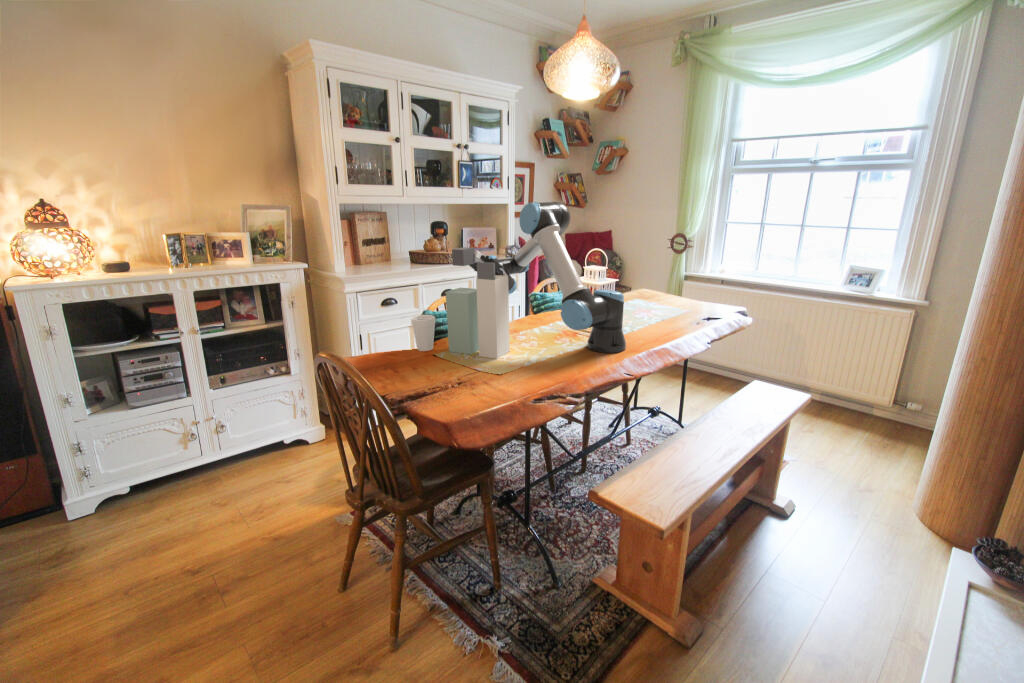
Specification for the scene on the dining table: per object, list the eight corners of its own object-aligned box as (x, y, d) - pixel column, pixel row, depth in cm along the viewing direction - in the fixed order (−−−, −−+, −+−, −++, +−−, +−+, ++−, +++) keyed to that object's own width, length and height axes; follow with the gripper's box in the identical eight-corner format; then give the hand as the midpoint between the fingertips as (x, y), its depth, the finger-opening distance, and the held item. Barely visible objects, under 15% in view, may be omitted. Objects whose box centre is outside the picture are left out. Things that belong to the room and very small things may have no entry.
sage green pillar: (483, 347, 192) (481, 289, 185) (470, 354, 183) (467, 294, 176) (462, 344, 196) (460, 287, 189) (449, 351, 188) (445, 292, 181)
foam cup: (412, 346, 195) (410, 315, 191) (434, 344, 198) (432, 314, 194) (414, 353, 186) (412, 321, 182) (438, 350, 189) (436, 319, 185)
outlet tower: (509, 351, 187) (507, 259, 176) (497, 359, 178) (494, 263, 168) (491, 348, 190) (489, 259, 180) (479, 356, 182) (475, 262, 171)
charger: (488, 260, 192) (487, 245, 190) (463, 266, 176) (463, 249, 175) (477, 259, 194) (477, 244, 192) (452, 265, 179) (451, 249, 177)
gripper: (480, 265, 209) (452, 243, 188) (516, 268, 201) (491, 244, 180) (476, 281, 207) (448, 260, 187) (512, 284, 199) (487, 263, 179)
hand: (469, 253), depth 184 cm, fingers closed on charger, 5 cm apart
